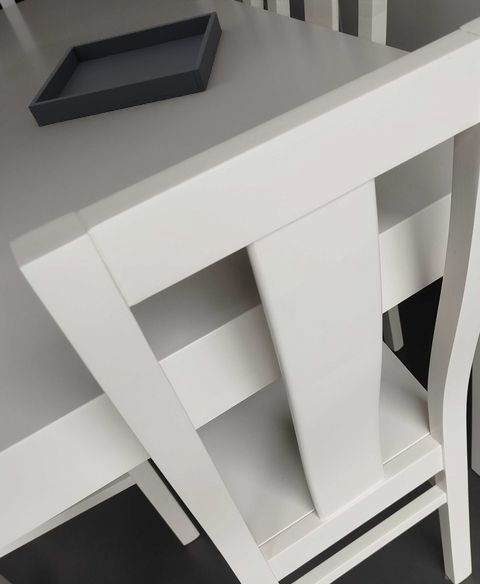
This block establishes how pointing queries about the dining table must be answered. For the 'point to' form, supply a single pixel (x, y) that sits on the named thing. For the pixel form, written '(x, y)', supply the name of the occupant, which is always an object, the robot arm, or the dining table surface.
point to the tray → (130, 70)
